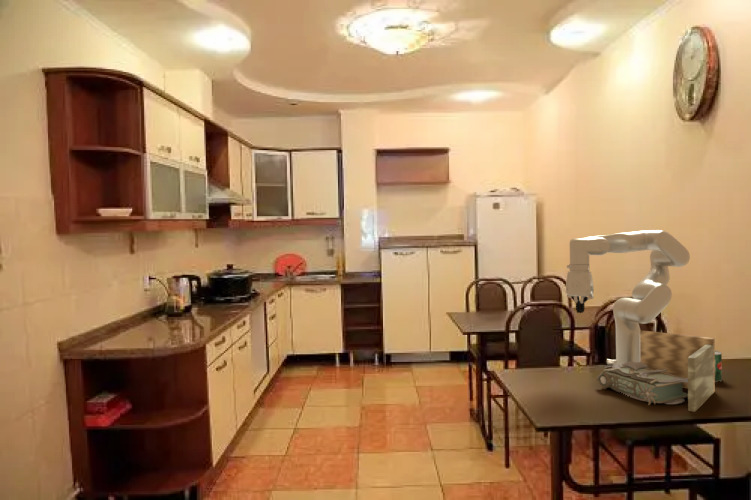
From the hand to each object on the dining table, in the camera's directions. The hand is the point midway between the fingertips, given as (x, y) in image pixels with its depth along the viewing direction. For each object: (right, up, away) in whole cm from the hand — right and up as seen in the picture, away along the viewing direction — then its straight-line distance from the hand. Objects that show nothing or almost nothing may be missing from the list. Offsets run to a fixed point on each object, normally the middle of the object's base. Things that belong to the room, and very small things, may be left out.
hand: (580, 312), depth 214 cm
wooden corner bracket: (+23, -27, -23) cm, 42 cm away
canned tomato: (+50, -26, -6) cm, 56 cm away
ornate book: (+16, -28, -22) cm, 39 cm away
